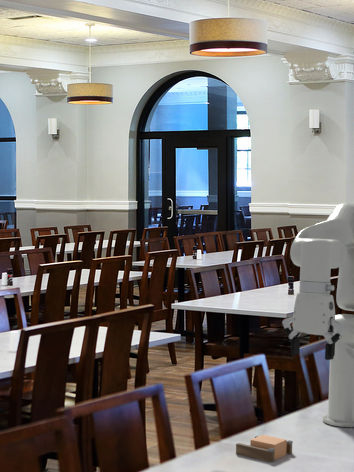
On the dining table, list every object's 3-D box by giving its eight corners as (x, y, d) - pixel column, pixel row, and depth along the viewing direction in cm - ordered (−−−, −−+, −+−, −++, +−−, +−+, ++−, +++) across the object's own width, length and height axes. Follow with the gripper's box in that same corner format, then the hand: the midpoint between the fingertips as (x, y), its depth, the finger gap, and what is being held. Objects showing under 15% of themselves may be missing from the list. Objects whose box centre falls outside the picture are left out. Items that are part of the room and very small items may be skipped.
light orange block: (262, 450, 221) (262, 434, 221) (286, 455, 217) (286, 439, 216) (250, 455, 216) (250, 439, 216) (274, 460, 212) (274, 444, 212)
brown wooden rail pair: (257, 445, 224) (257, 433, 224) (292, 453, 218) (292, 440, 218) (235, 453, 216) (235, 441, 216) (271, 462, 210) (271, 449, 210)
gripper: (353, 290, 212) (350, 360, 212) (292, 286, 222) (289, 352, 222) (338, 291, 206) (335, 362, 206) (277, 286, 217) (274, 354, 217)
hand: (311, 357), depth 214 cm, fingers open, 9 cm apart
